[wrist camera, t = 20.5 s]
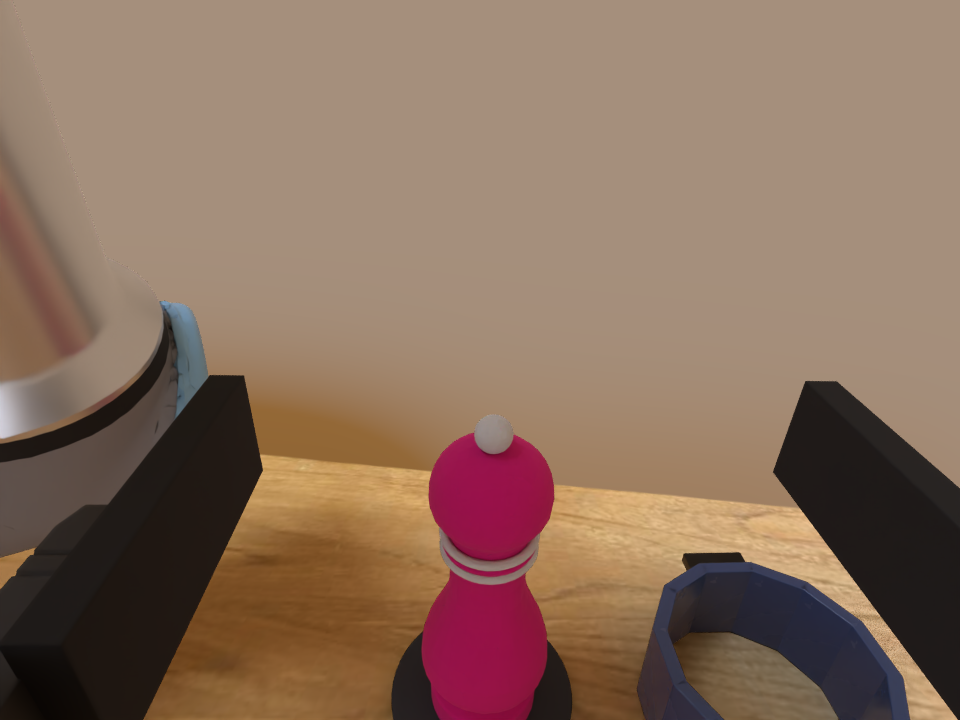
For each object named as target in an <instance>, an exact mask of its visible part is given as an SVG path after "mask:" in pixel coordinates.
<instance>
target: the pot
mask: <svg viewBox="0 0 960 720" xmlns="http://www.w3.org/2000/svg"><path fill="white" fill-rule="evenodd" d="M682 561H683V564H684V566H685V568H686V570H687V571H686V572H684V573H683V574H681V575H680V576H678V577H677V578H675V579H673V580H672V581H670V582H669V583H667V584H666V585H664V588H663V592H662V595H661V599H660V603H659V606H658V610H657V614H656V617H655V621H654V625H653V628H652V632H651V636H650V640H649V644H648V648H647V651H646V655H645V659H644V663H643V667H642V671H641V674H640V678H639V682H638V686H637V692H638V696H639V699H640V703H641V706H642V709H643V713H644V716H645V719H646V720H724V719H723V718H722V717H721V716H720V715H719V714H718V713H717V712H716V711H715V710H714V709H713V708H712V707H711V706H710V705H709V704H708V703H707V702H706V701H705V700H704V699H703V698H702V697H701V696H700V695H699V694H698V693H697V691H696V690H695V689H694V688H693V687H692V686H691V685H690V684H689V683H688V682H687V681H686V678H685V676H684V673H683V670H682V668H681V665H680V662H679V660H678V657H677V655H676V652H675V649H674V647H673V644H674V643H675V642H677V641H678V640H680V639H681V638H682V637H684V636H685V635H686V634H688V633H689V632H727V631H730V632H733V633H735V634H738V635H740V636H743V637H745V638H747V639H750V640H752V641H755V642H757V643H760V644H762V645H765V646H767V647H770V648H772V649H775V650H777V651H778V652H780V653H781V654H782V655H783V656H784V657H785V658H787V659H788V660H789V661H790V662H791V663H793V664H794V665H795V666H796V667H797V668H798V669H800V670H801V671H802V672H803V673H804V674H805V675H807V676H808V677H809V678H810V679H811V680H813V681H814V682H815V683H816V684H817V685H818V686H820V687H821V689H822V691H823V692H824V694H825V696H826V697H827V699H828V701H829V702H830V704H831V706H832V707H833V709H834V711H835V713H836V714H837V716H838V718H839V719H840V720H910V716H909V710H908V704H907V698H906V692H905V685H904V679H903V677H902V675H901V674H900V673H899V671H898V670H897V668H896V667H895V666H894V664H893V663H892V662H891V660H890V659H889V658H888V656H887V655H886V653H885V652H884V651H883V649H882V648H881V647H880V645H879V644H878V643H877V641H876V640H875V638H874V637H873V636H872V634H871V633H870V632H869V630H868V629H867V628H866V626H865V625H864V623H863V622H862V621H860V620H859V619H858V618H856V617H855V616H853V615H852V614H851V613H849V612H848V611H847V610H845V609H844V608H842V607H841V606H840V605H838V604H837V603H835V602H834V601H833V600H831V599H830V598H829V597H827V596H826V595H824V594H823V593H822V592H820V591H819V590H817V589H816V588H815V587H813V586H812V585H811V584H809V583H808V582H806V581H803V580H800V579H797V578H794V577H791V576H789V575H786V574H783V573H780V572H777V571H774V570H771V569H769V568H766V567H763V566H760V565H757V564H754V563H752V562H745V560H744V559H743V557H742V555H741V553H739V552H736V553H685V554H684V555H683V558H682Z"/></svg>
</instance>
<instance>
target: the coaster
mask: <svg viewBox="0 0 960 720" xmlns="http://www.w3.org/2000/svg"><path fill="white" fill-rule="evenodd" d="M422 639H423V632H422V633H421V634H420V635H419V636H418V637H417V638H416V639H415V640H414V641H413V642H412V643H411V645H410V646H409V647H408V649H407V650H406V652H405V653H404V655H403V657H402V659H401V660H400V663H399V665H398V668H397V670H396V674H395V677H394V681H393V688H392V713H393V720H440V719H439V717H438V715H437V713H436V711H435V709H434V705H433V701H432V694H431V682H430V680H429V679H428V677H427V675H426V672H425V668H424V665H423V660H422ZM571 711H572V693H571V687H570V682H569V678H568V675H567V672H566V669H565V667H564V664H563V662H562V660H561V659H560V657H559V655H558V653H557V652H556V650H555V649H554V648H553V646H552V645H551V644H550V643H549V642H548V640H547V662H546V667H545V670H544V673H543V676H542V678H541V680H540V682H539V684H538V686H537V687H536V689H535V690H534V699H533V704H532V708H531V711H530V713H529V715H528V717H527V719H526V720H571Z"/></svg>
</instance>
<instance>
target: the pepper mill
mask: <svg viewBox="0 0 960 720" xmlns="http://www.w3.org/2000/svg"><path fill="white" fill-rule="evenodd" d="M553 502H554V484H553V479H552V473H551V471H550V469H549V466H548V464H547V462H546V460H545V458H544V457H543V456H542V454H541V453H540V452H539V451H538V450H537V449H536V448H535V447H534V446H533V445H531V444H530V443H529V442H527V441H525V440H524V439H522V438H520V437H518V436H516V435H513V428H512V426H511V424H510V422H509V421H508V420H507V419H505V418H504V417H502V416H499V415H488V416H486V417H484V418H482V419H481V420H480V421H479V422H478V423H477V425H476V427H475V432H474V433H471V434H468V435H466V436H463V437H461V438H459V439H458V440H456V441H454V442H453V443H452V444H451V445H449V447H448V448H446V449H445V450H444V451H443V452H442V454H441V455H440V457H439V458H438V460H437V462H436V463H435V465H434V468H433V470H432V474H431V477H430V481H429V504H430V509H431V511H432V514H433V516H434V519H435V522H436V523H437V524H438V526H439V527H440V528H439V533H440V552H441V555H442V558H443V560H444V561H445V563H446V565H447V566H448V567H449V568H450V578H449V581H448V583H447V584H446V586H445V587H444V589H443V590H442V591H441V593H440V594H439V595H438V597H437V598H436V600H435V602H434V604H433V605H432V607H431V610H430V612H429V615H428V617H427V620H426V622H425V625H424V631H423V639H422V660H423V665H424V668H425V672H426V675H427V677H428V679H429V680H430V682H431V694H432V701H433V705H434V709H435V711H436V713H437V715H438V717H439V719H440V720H526V719H527V717H528V715H529V713H530V711H531V708H532V704H533V699H534V690H535V689H536V687H537V686H538V684H539V682H540V680H541V678H542V676H543V673H544V670H545V667H546V662H547V633H546V629H545V624H544V621H543V618H542V614H541V612H540V609H539V607H538V605H537V603H536V601H535V599H534V597H533V596H532V594H531V592H530V590H529V588H528V586H527V584H526V580H525V573H526V572H527V571H528V570H529V569H530V568H531V567H532V566H533V564H534V562H535V560H536V558H537V555H538V548H539V547H538V543H539V539H540V532H541V531H542V529H543V528H544V526H545V525H546V524H547V522H548V520H549V519H550V515H551V511H552V506H553Z"/></svg>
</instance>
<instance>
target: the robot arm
mask: <svg viewBox="0 0 960 720" xmlns="http://www.w3.org/2000/svg"><path fill="white" fill-rule="evenodd" d="M262 471H263V468H262V463H261V458H260V453H259V448H258V444H257V438H256V433H255V428H254V423H253V419H252V413H251V408H250V404H249V399H248V393H247V388H246V384H245V379H244V376H236V375H235V376H234V375H232V376H231V375H210V376H209V377H208V371H207V365H206V360H205V355H204V349H203V344H202V340H201V336H200V332H199V328H198V325H197V321H196V319H195V316H194V314H193V312H192V310H190V308H188V307H187V306H186V305H184V304H181V303H169V302H166V301H158V299H157V297H156V295H155V293H154V292H153V290H152V288H151V287H150V286H149V284H148V283H147V282H146V281H145V280H144V279H143V278H142V277H141V276H140V275H139V274H138V273H136V272H134V271H133V270H131V269H130V268H128V267H127V266H125V265H123V264H121V263H119V262H117V261H114V260H112V259H109V258H107V257H106V256H105V253H104V251H103V248H102V245H101V242H100V239H99V236H98V234H97V231H96V228H95V225H94V223H93V220H92V217H91V214H90V212H89V209H88V206H87V204H86V201H85V198H84V195H83V192H82V190H81V187H80V184H79V182H78V179H77V176H76V173H75V170H74V168H73V165H72V162H71V159H70V157H69V154H68V151H67V149H66V146H65V143H64V140H63V137H62V135H61V133H60V129H59V126H58V124H57V121H56V118H55V115H54V113H53V110H52V107H51V104H50V102H49V99H48V96H47V93H46V91H45V88H44V86H43V83H42V80H41V77H40V74H39V72H38V69H37V66H36V63H35V61H34V58H33V55H32V52H31V50H30V47H29V44H28V41H27V38H26V36H25V33H24V30H23V27H22V25H21V22H20V19H19V17H18V14H17V11H16V8H15V5H14V3H13V0H0V558H1V557H4V556H8V555H11V554H15V553H18V552H22V551H25V550H29V549H32V548H36V547H37V548H36V549H35V550H34V555H30V556H29V557H28V558H27V559H26V561H25V562H24V563H23V564H22V565H21V566H20V567H19V569H18V570H17V571H16V572H17V573H16V576H14V577H11V578H10V579H9V580H8V581H7V583H6V584H5V585H4V586H3V587H2V588H1V589H0V720H143V719H144V717H145V715H146V713H147V711H148V709H149V707H150V705H151V703H152V700H153V698H154V696H155V694H156V692H157V690H158V688H159V686H160V684H161V682H162V680H163V677H164V675H165V673H166V671H167V669H168V667H169V665H170V663H171V661H172V659H173V657H174V655H175V652H176V650H177V648H178V646H179V644H180V642H181V640H182V638H183V636H184V634H185V632H186V630H187V627H188V625H189V623H190V621H191V619H192V617H193V615H194V613H195V611H196V609H197V607H198V605H199V602H200V600H201V598H202V596H203V594H204V592H205V590H206V588H207V586H208V584H209V582H210V580H211V577H212V575H213V573H214V571H215V569H216V567H217V565H218V563H219V561H220V559H221V557H222V554H223V552H224V550H225V548H226V546H227V544H228V542H229V540H230V538H231V536H232V534H233V532H234V529H235V527H236V525H237V523H238V521H239V519H240V517H241V515H242V513H243V511H244V509H245V507H246V504H247V502H248V500H249V498H250V496H251V494H252V492H253V490H254V488H255V486H256V484H257V482H258V479H259V477H260V475H261V473H262ZM773 473H774V474H775V475H776V477H777V478H778V479H779V481H780V482H781V483H782V485H783V486H784V487H785V489H786V490H787V491H788V493H789V494H790V495H791V497H792V498H793V499H794V501H795V502H796V503H797V505H798V506H799V508H800V509H801V510H802V512H803V513H804V514H805V516H806V517H807V518H808V520H809V521H810V522H811V524H812V525H813V526H814V528H815V529H816V530H817V532H818V533H819V534H820V536H821V537H822V538H823V540H824V541H825V542H826V544H827V545H828V546H829V548H830V549H831V550H832V552H833V553H834V554H835V556H836V557H837V558H838V560H839V561H840V562H841V564H842V565H843V566H844V568H845V569H846V570H847V572H848V573H849V574H850V576H851V577H852V578H853V580H854V581H855V582H856V584H857V585H858V586H859V588H860V589H861V590H862V592H863V593H864V595H865V596H866V597H867V599H868V600H869V601H870V603H871V604H872V605H873V607H874V608H875V609H876V611H877V612H878V613H879V615H880V616H881V617H882V619H883V620H884V621H885V623H886V624H887V625H888V627H889V628H890V629H891V631H892V632H893V633H894V635H895V636H896V637H897V639H898V640H899V641H900V643H901V644H902V645H903V647H904V648H905V649H906V651H907V652H908V653H909V655H910V656H911V657H912V659H913V660H914V661H915V663H916V664H917V665H918V667H919V668H920V669H921V671H922V672H923V673H924V675H925V676H926V677H927V679H928V680H929V681H930V683H931V684H932V685H933V687H934V688H935V690H936V691H937V692H938V694H939V695H940V696H941V698H942V699H943V700H944V702H945V703H946V704H947V706H948V707H949V708H950V710H951V711H952V712H953V714H954V715H955V716H956V718H957V719H958V720H960V488H959V487H958V486H956V485H955V484H954V483H953V482H952V481H951V480H950V479H948V478H947V477H946V476H945V475H944V474H943V473H942V472H940V471H939V470H938V469H937V468H936V467H934V466H933V465H932V464H931V463H930V462H929V461H928V460H927V459H925V458H924V457H923V456H922V455H921V454H919V453H918V452H917V451H916V450H915V449H914V448H913V447H912V446H910V445H909V444H908V443H907V442H905V440H904V439H902V438H901V437H900V436H899V435H898V434H897V433H895V432H894V431H893V430H892V429H891V428H890V427H888V426H887V425H886V424H885V423H884V422H883V421H882V420H881V419H879V418H878V417H877V416H876V415H875V414H873V413H872V412H871V411H870V410H869V409H868V408H867V407H866V406H864V405H863V404H862V403H861V402H860V401H859V400H857V399H856V398H855V397H854V396H853V395H852V394H851V393H849V392H848V391H847V390H846V389H845V388H844V387H843V386H841V385H840V384H839V383H838V382H836V381H835V382H834V381H805V384H804V387H803V389H802V392H801V395H800V398H799V400H798V403H797V406H796V409H795V412H794V414H793V417H792V420H791V423H790V426H789V428H788V432H787V434H786V437H785V440H784V443H783V445H782V448H781V451H780V454H779V457H778V459H777V462H776V465H775V468H774V471H773Z"/></svg>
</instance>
